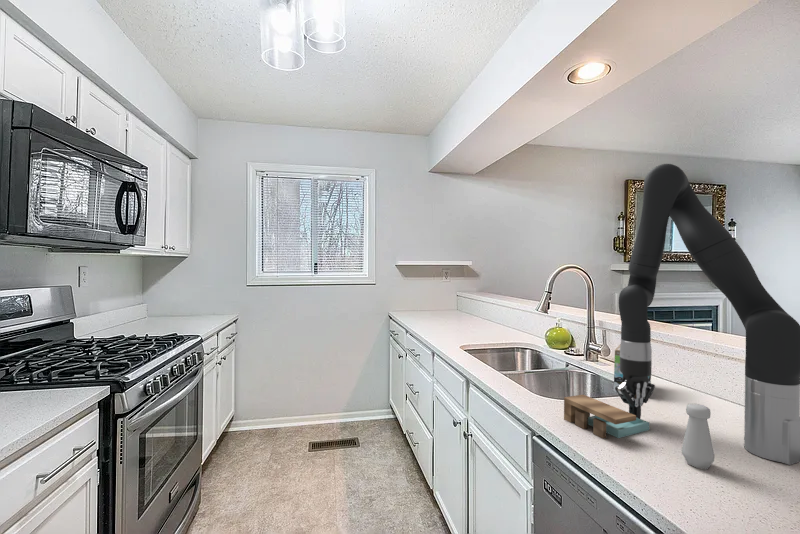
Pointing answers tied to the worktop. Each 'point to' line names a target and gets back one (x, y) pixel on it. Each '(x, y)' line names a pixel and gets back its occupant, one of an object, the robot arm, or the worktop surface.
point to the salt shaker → (698, 437)
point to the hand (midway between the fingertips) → (635, 418)
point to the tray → (623, 427)
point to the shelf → (583, 405)
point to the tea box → (617, 372)
